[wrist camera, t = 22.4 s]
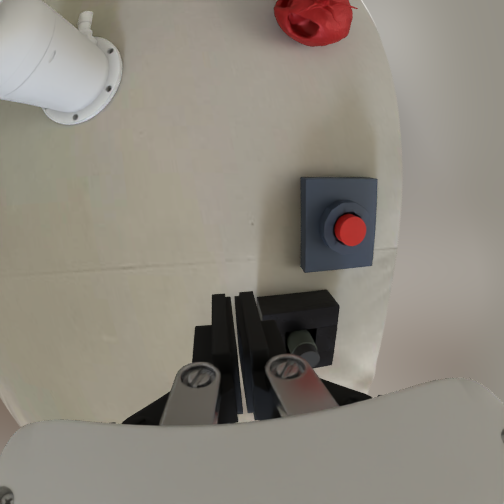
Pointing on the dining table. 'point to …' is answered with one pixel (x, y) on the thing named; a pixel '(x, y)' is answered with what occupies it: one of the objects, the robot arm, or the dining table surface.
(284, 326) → the holder
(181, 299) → the dining table surface
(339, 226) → the power button
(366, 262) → the station
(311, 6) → the red tomato
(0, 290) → the dining table surface
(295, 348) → the banded grey cylinder
